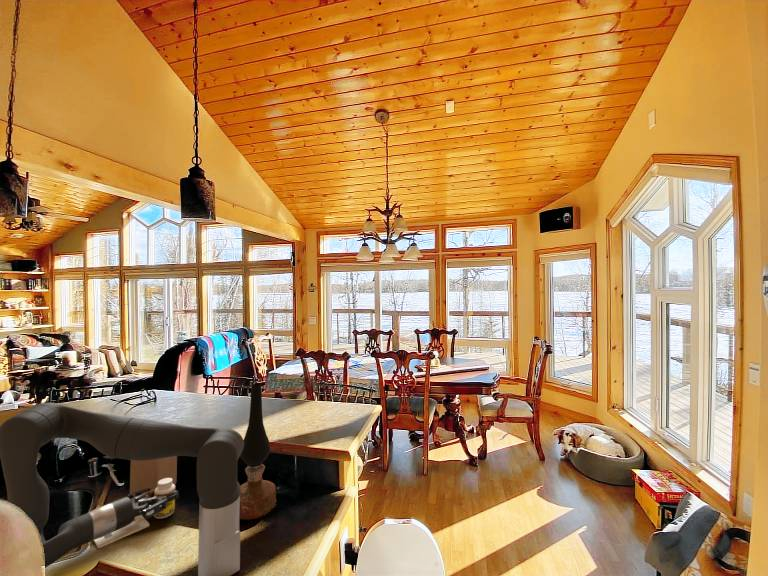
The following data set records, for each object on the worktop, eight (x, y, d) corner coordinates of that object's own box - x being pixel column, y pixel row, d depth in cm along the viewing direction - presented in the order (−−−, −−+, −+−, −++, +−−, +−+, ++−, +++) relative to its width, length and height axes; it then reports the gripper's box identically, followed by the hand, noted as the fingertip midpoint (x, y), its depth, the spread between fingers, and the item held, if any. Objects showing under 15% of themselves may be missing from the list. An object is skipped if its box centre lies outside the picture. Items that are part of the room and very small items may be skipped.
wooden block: (156, 499, 118) (157, 438, 118) (128, 497, 119) (130, 437, 119) (177, 483, 127) (178, 427, 128) (151, 481, 129) (153, 426, 129)
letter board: (149, 526, 104) (149, 523, 104) (98, 548, 94) (98, 546, 94) (135, 510, 111) (135, 508, 111) (87, 529, 102) (87, 527, 102)
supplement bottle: (153, 521, 106) (154, 487, 106) (153, 512, 110) (154, 479, 111) (175, 515, 109) (175, 482, 109) (174, 506, 113) (175, 474, 114)
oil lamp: (250, 502, 122) (244, 384, 130) (289, 501, 118) (280, 379, 125) (221, 521, 109) (216, 389, 116) (263, 521, 105) (255, 384, 112)
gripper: (120, 513, 94) (185, 485, 108) (99, 496, 102) (162, 472, 116) (119, 542, 94) (184, 510, 108) (99, 522, 102) (162, 495, 116)
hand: (173, 490), depth 112 cm, fingers closed on supplement bottle, 5 cm apart
